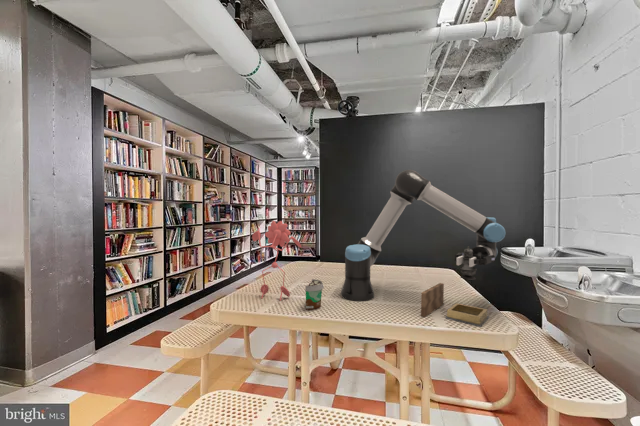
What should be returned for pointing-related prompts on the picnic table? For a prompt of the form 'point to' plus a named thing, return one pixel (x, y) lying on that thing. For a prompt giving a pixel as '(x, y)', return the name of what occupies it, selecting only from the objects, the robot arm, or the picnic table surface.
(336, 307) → the picnic table surface
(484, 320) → the yellow square tray
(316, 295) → the food container
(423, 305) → the board
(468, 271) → the salt shaker
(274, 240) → the pink tall figurine
